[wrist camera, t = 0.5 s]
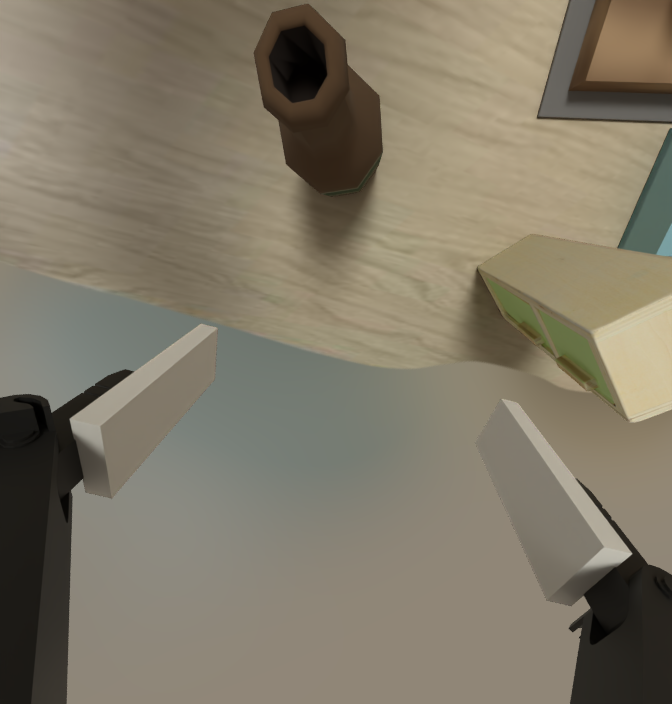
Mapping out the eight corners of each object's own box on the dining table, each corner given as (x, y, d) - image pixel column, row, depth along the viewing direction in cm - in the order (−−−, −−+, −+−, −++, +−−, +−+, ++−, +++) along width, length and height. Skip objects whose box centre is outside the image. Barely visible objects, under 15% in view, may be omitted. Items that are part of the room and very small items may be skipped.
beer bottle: (391, 172, 33) (442, 109, 11) (330, 212, 35) (272, 224, 13) (357, 93, 30) (336, -189, 8) (293, 142, 32) (146, 17, 11)
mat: (611, -150, 22) (613, -155, 22) (846, -153, 22) (852, -158, 21) (537, 117, 29) (538, 116, 29) (712, 123, 29) (715, 122, 28)
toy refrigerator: (468, 269, 36) (579, 339, 17) (530, 231, 34) (737, 264, 15) (496, 321, 39) (620, 432, 20) (556, 289, 36) (761, 379, 17)
